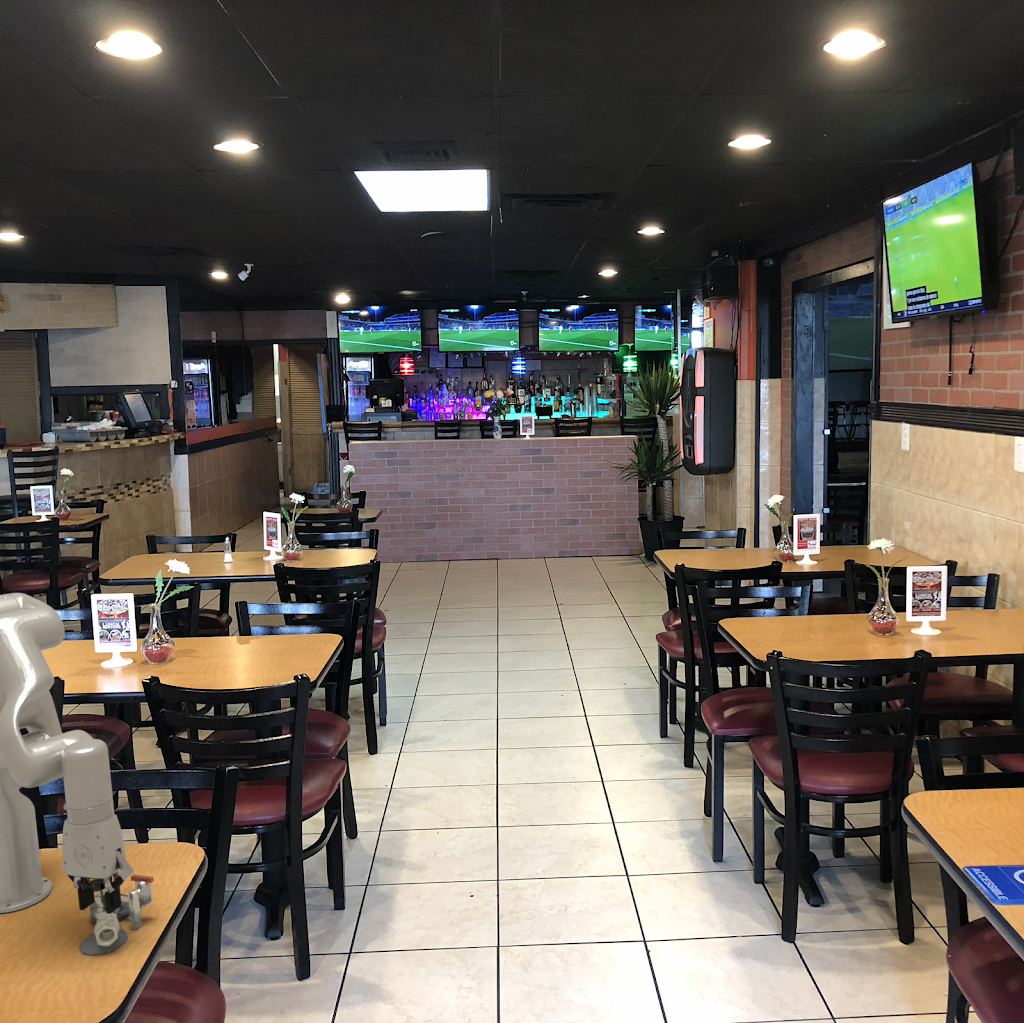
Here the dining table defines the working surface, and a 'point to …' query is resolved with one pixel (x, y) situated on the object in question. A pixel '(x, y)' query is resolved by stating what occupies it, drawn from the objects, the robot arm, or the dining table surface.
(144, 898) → the crank
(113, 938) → the valve
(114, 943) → the mat
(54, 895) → the dining table surface
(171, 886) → the dining table surface
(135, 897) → the crank housing
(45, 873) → the dining table surface
